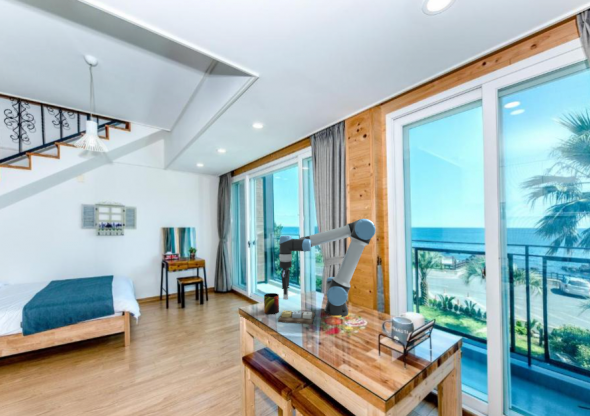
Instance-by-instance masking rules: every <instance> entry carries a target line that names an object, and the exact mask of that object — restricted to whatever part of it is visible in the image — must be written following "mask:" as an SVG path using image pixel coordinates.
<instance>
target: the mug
mask: <svg viewBox="0 0 590 416" xmlns="http://www.w3.org/2000/svg"><path fill="white" fill-rule="evenodd" d="M263 304H264V305H263V307H264V308H263V311H264V312H263V313H264V314H265V315H269V316H270V315H276V314H277V315H278V313H280V295H279V293H276V292H275V293H274V292H269V293H266V294H264V295H263Z"/></svg>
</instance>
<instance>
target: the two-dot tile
mask: <svg viewBox="0 0 590 416" xmlns="http://www.w3.org/2000/svg"><path fill="white" fill-rule="evenodd" d="M292 312H293V313H292V318H301V317H302V312H303V311H300V310H293V311H292Z"/></svg>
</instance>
